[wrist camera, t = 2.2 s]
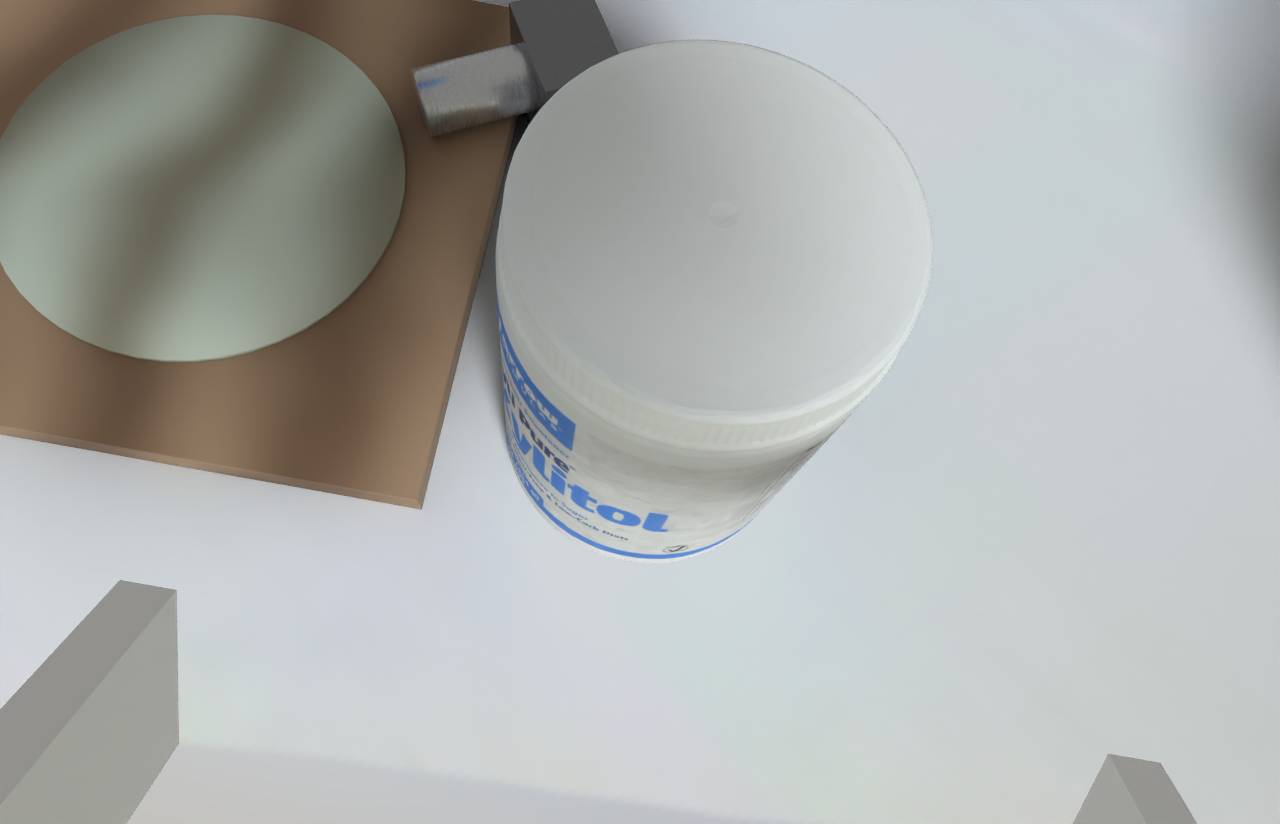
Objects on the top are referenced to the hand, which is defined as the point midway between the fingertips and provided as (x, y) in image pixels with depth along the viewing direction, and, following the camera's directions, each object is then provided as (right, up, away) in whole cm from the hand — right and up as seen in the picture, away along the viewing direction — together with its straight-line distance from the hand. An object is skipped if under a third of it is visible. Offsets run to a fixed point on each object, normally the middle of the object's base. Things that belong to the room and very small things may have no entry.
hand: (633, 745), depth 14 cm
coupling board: (-15, +13, +22) cm, 30 cm away
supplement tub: (0, +4, +20) cm, 21 cm away
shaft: (-5, +16, +24) cm, 29 cm away
